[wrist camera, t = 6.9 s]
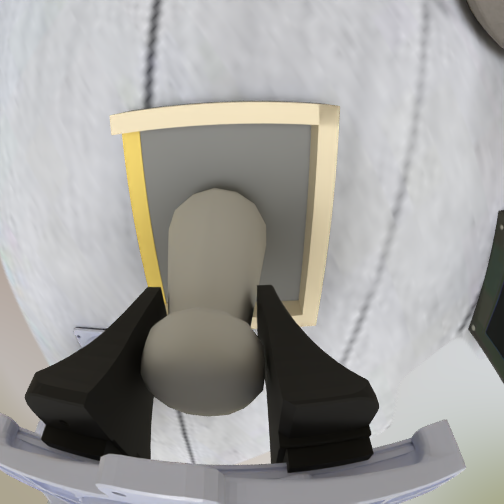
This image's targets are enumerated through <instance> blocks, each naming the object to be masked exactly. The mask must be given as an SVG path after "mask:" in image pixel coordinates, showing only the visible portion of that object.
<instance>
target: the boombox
mask: <svg viewBox="0 0 504 504" xmlns="http://www.w3.org/2000/svg"><path fill="white" fill-rule="evenodd" d="M468 329H469V331H470V332H471V334H472V335H473V336H474V338H475V339H476V341H477V342H478V344H479V345H480V347H481V348H482V350H483V351H484V353H485V354H486V356H487V357H488V359H489V361H490V362H491V364H492V365H493V367H494V368H495V370H496V372H497V373H498V375H499V377H500V378H501V380H502V382H503V383H504V210H501V211H499V212H498V218H497V224H496V230H495V235H494V240H493V245H492V250H491V254H490V259H489V263H488V267H487V271H486V275H485V279H484V282H483V286H482V289H481V293H480V296H479V299H478V302H477V305H476V308H475V311H474V314H473V317H472V320H471V323H470V326H469V328H468Z"/></svg>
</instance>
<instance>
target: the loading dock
mask: <svg viewBox="0 0 504 504" xmlns="http://www.w3.org/2000/svg"><path fill="white" fill-rule="evenodd" d="M339 114H340V106H335V105H329V104H321V103H306V102H284V101H232V102H210V103H195V104H183V105H172V106H163V107H155V108H147V109H140V110H133V111H128V112H123V113H119V114H114V115H110V125H111V135H116V134H122V138H123V148H124V156H125V164H126V172H127V179H128V186H129V193H130V199H131V205H132V211H133V217H134V223H135V228H136V233H137V239H138V244H139V249H140V253H141V258H142V263H143V267H144V272H145V276H146V280H147V284H148V287H161V290H162V294H163V299H164V303H165V307H166V312H167V315H168V238H169V227H170V224H171V221H172V218H173V215H174V212H175V210H176V209H177V208H178V207H179V206H180V205H181V204H183V203H184V202H185V201H186V200H187V199H188V198H190V197H191V196H192V195H193V194H196V193H199V192H202V191H205V190H209V189H212V188H218V189H223V190H229V191H234V192H237V193H239V194H241V195H242V196H244V197H245V198H247V199H248V200H250V201H251V202H253V203H254V204H255V205H256V207H257V209H258V211H259V213H260V215H261V217H262V218H263V220H264V222H265V224H266V249H265V254H264V260H263V265H262V270H261V276H260V281H259V285H272V286H273V287H274V289H275V291H276V293H277V295H278V296H279V298H280V300H281V302H282V303H283V305H284V306H285V308H286V309H287V311H288V312H289V314H290V315H291V316H292V318H293V319H294V320H295V322H296V323H297V324H298V325H299V327H302V326H316V322H317V316H318V310H319V304H320V298H321V292H322V285H323V279H324V272H325V265H326V258H327V250H328V242H329V234H330V226H331V217H332V208H333V198H334V187H335V176H336V164H337V150H338V134H339ZM251 328H252V329H257V297H256V302H255V307H254V312H253V317H252V323H251Z"/></svg>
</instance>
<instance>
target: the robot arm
mask: <svg viewBox="0 0 504 504" xmlns="http://www.w3.org/2000/svg"><path fill="white" fill-rule="evenodd" d="M166 316H167V312H166V307H165V303H164V299H163V294H162V290H161V287H147V288H146V289H145V291H144V292H143V293H142V294H141V295H140V296H139V297H138V298H137V299H136V300H135V301H134V302H133V303H132V305H131V306H130V307H129V308H128V309H127V310H126V311H125V312H124V313H123V314H122V315H121V316H120V317H119V318H118V319H117V320H116V321H115V322H114V323H113V324H112V325H111V326H110V327H109V328H107V329H106V330H95V329H83V328H75V329H74V331H73V332H74V334H75V336H76V338H77V340H78V342H79V344H80V346H81V348H82V349H80V350H79V351H77V352H76V353H74V354H72V355H71V356H69V357H67V358H65V359H64V360H62V361H60V362H58V363H56V364H54V365H52V366H49V367H47V368H45V369H43V370H40V371H38V372H36V373H35V375H34V377H33V379H32V381H31V384H30V386H29V388H28V390H27V392H26V394H25V400H26V402H27V404H28V406H29V407H30V408H31V410H32V411H33V412H34V413H35V414H36V415H37V416H38V417H39V418H40V420H39V422H38V425H37V428H36V431H35V432H32V431H29V430H27V429H24V428H21V427H19V426H18V424H17V423H16V422H15V421H14V420H13V419H11V418H10V417H9V416H7V415H5V414H2V413H0V470H2V471H3V472H5V473H6V474H7V475H9V476H11V477H13V478H15V479H17V480H19V481H21V482H23V483H25V484H27V485H29V486H31V487H33V488H35V489H37V490H39V491H42V492H43V493H44V494H45V496H46V497H47V499H48V503H47V504H399V503H402V502H405V501H407V500H410V499H413V498H415V497H418V496H420V495H423V494H425V493H427V492H430V491H432V490H435V489H436V488H438V487H440V486H441V485H443V484H444V483H446V482H448V481H449V480H451V479H452V478H454V477H455V476H457V475H458V474H459V473H461V472H462V471H464V470H465V468H466V466H465V463H464V460H463V458H462V455H461V453H460V450H459V447H458V445H457V442H456V440H455V438H454V435H453V433H452V430H451V428H450V426H449V423H448V421H447V420H442V421H439V422H436V423H434V424H430V425H427V426H425V427H423V428H421V429H419V430H418V431H416V432H415V434H414V435H413V436H412V438H409V439H406V440H403V441H399V442H396V443H392V444H389V445H385V446H381V447H377V448H373V449H372V445H371V442H370V438H369V436H370V435H371V430H370V427H369V424H370V423H371V421H372V420H373V418H374V416H375V415H376V413H377V411H378V409H379V403H378V400H377V397H376V395H375V393H374V391H373V389H372V387H371V385H370V383H369V381H368V380H367V379H365V378H363V377H361V376H359V375H358V374H356V373H354V372H352V371H350V370H349V369H347V368H345V367H344V366H343V365H341V364H340V363H338V362H337V361H335V360H334V359H333V358H332V357H330V356H329V355H328V354H327V353H325V352H324V351H323V350H322V349H321V348H320V347H318V346H317V345H316V344H315V343H314V342H313V341H312V340H311V339H310V338H309V337H308V336H307V335H306V334H305V332H304V331H303V330H302V329H301V328H300V327H299V325H298V324H297V323H296V322H295V320H294V319H293V318H292V316H291V315H290V314H289V312H288V311H287V309H286V308H285V306H284V305H283V303H282V302H281V300H280V298H279V296H278V295H277V293H276V291H275V289H274V287H273V286H272V285H257V332H258V338H259V339H260V341H261V343H262V345H263V350H264V356H265V383H266V390H267V404H268V419H269V435H270V452H271V464H259V465H202V464H190V463H178V462H167V461H158V460H151V449H150V443H151V420H152V407H153V398H154V395H153V394H152V393H151V392H150V391H149V390H148V388H147V386H146V384H145V382H144V380H143V378H142V376H141V358H142V354H143V350H144V346H145V342H146V340H147V337H148V335H149V332H150V329H151V328H152V327H153V326H154V325H155V324H156V323H158V322H159V321H160V320H162V319H163V318H165V317H166Z"/></svg>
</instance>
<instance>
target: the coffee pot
mask: <svg viewBox="0 0 504 504" xmlns="http://www.w3.org/2000/svg"><path fill="white" fill-rule="evenodd" d="M466 1H467V3H468V5H469V8H470V10H471V11H472V13H473V15H474V16H475V18H476V19H477V21H478V22H479V23H480V25H481V26H482V27H483V28H484V29H485V30H486V32H487V33H488V34H489V35H490V36H491V37H492V38H493V39H494V40H495V41H496V42H497V44H498V45H499V46H500V47H502V48H503V49H504V0H466Z"/></svg>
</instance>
